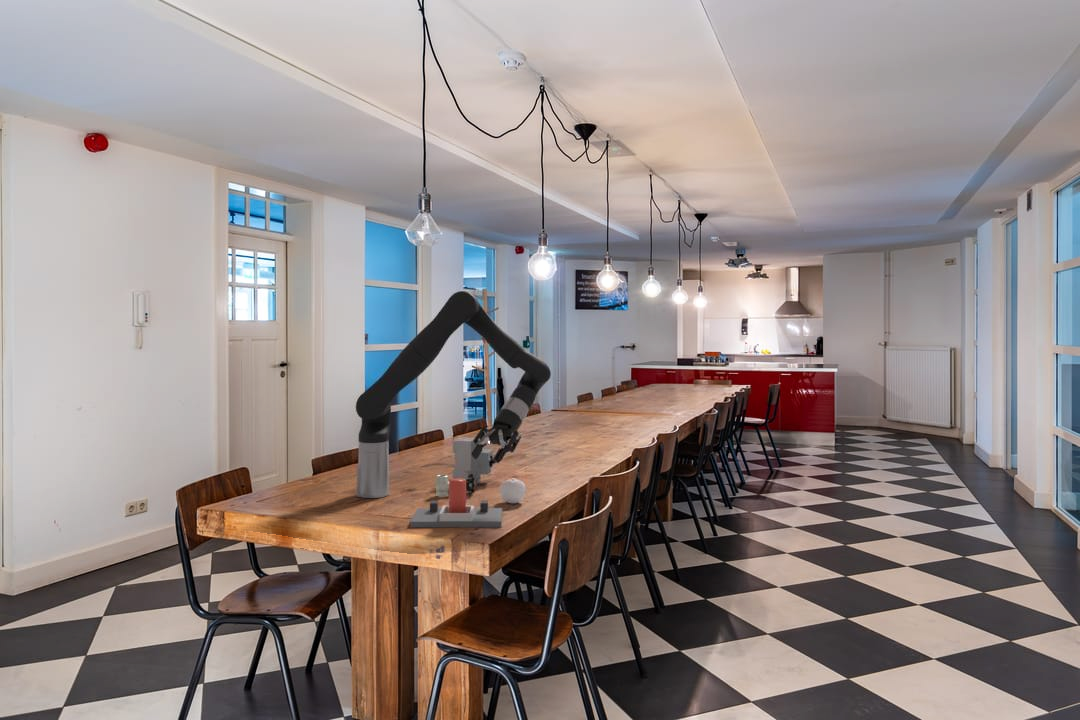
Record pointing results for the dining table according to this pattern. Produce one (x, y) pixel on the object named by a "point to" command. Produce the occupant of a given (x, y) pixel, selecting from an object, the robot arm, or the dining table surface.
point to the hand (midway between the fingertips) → (484, 459)
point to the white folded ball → (512, 490)
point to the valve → (443, 485)
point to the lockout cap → (457, 495)
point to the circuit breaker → (471, 460)
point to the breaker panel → (457, 516)
